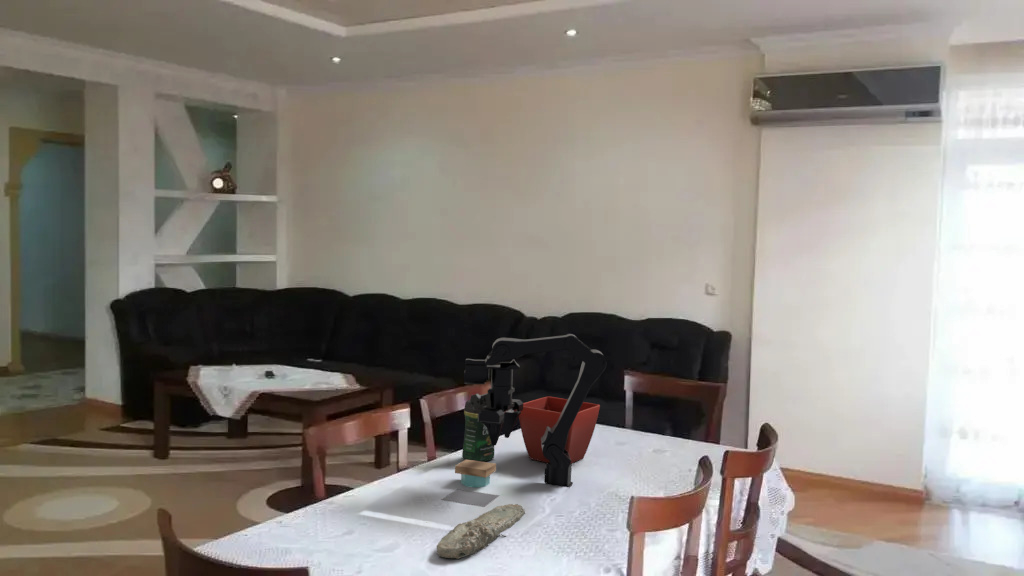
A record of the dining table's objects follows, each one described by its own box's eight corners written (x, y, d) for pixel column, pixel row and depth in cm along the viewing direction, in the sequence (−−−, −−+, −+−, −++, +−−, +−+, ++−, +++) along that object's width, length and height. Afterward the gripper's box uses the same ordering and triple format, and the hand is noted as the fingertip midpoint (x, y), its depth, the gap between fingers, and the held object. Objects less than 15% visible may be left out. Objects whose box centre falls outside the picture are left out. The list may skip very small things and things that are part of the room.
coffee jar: (476, 465, 251) (478, 403, 250) (457, 459, 257) (459, 398, 255) (499, 459, 258) (501, 398, 257) (480, 454, 264) (482, 394, 262)
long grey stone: (535, 523, 208) (498, 518, 212) (535, 501, 208) (498, 497, 212) (466, 564, 177) (425, 557, 181) (466, 539, 177) (425, 532, 181)
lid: (495, 470, 232) (496, 463, 232) (485, 477, 225) (486, 470, 225) (465, 466, 235) (465, 459, 235) (454, 473, 229) (455, 465, 229)
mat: (499, 499, 220) (499, 495, 220) (484, 510, 211) (484, 506, 211) (457, 492, 225) (457, 488, 225) (440, 503, 216) (440, 499, 215)
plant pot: (599, 457, 264) (601, 404, 263) (569, 471, 248) (571, 414, 247) (545, 447, 274) (547, 395, 273) (514, 460, 258) (516, 405, 257)
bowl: (492, 484, 233) (493, 470, 232) (482, 492, 226) (482, 477, 226) (468, 481, 235) (469, 466, 235) (457, 488, 229) (457, 473, 228)
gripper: (487, 376, 243) (486, 430, 244) (460, 387, 226) (459, 445, 227) (524, 380, 239) (523, 435, 240) (499, 391, 222) (497, 450, 223)
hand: (500, 441), depth 232 cm, fingers open, 9 cm apart
